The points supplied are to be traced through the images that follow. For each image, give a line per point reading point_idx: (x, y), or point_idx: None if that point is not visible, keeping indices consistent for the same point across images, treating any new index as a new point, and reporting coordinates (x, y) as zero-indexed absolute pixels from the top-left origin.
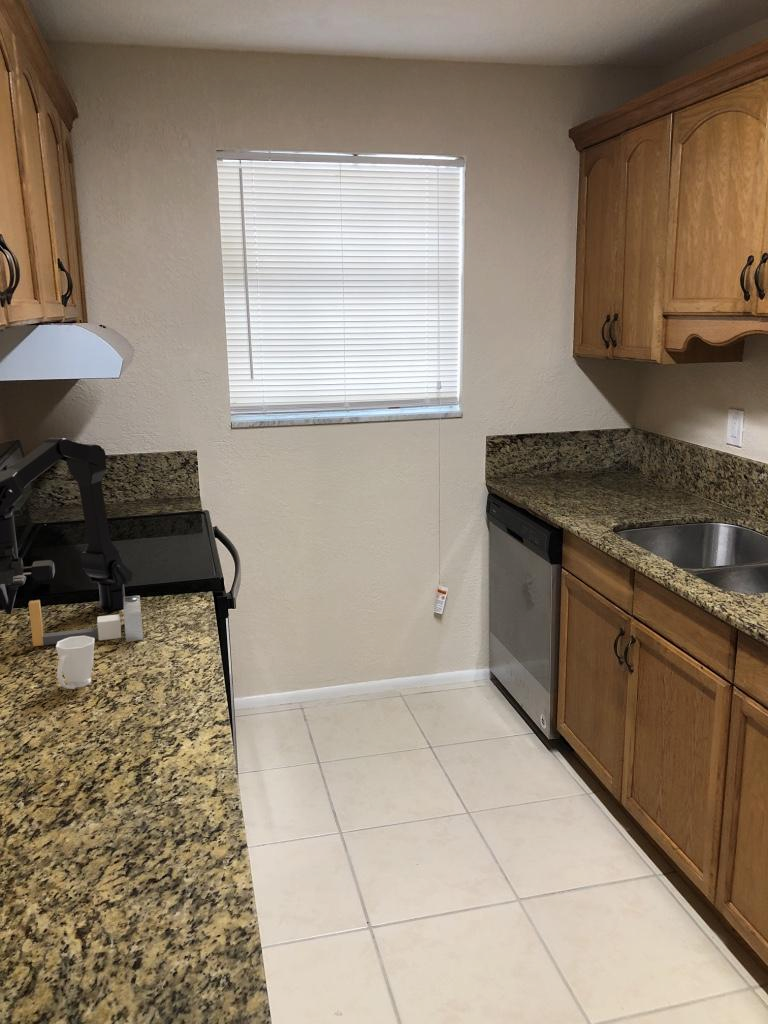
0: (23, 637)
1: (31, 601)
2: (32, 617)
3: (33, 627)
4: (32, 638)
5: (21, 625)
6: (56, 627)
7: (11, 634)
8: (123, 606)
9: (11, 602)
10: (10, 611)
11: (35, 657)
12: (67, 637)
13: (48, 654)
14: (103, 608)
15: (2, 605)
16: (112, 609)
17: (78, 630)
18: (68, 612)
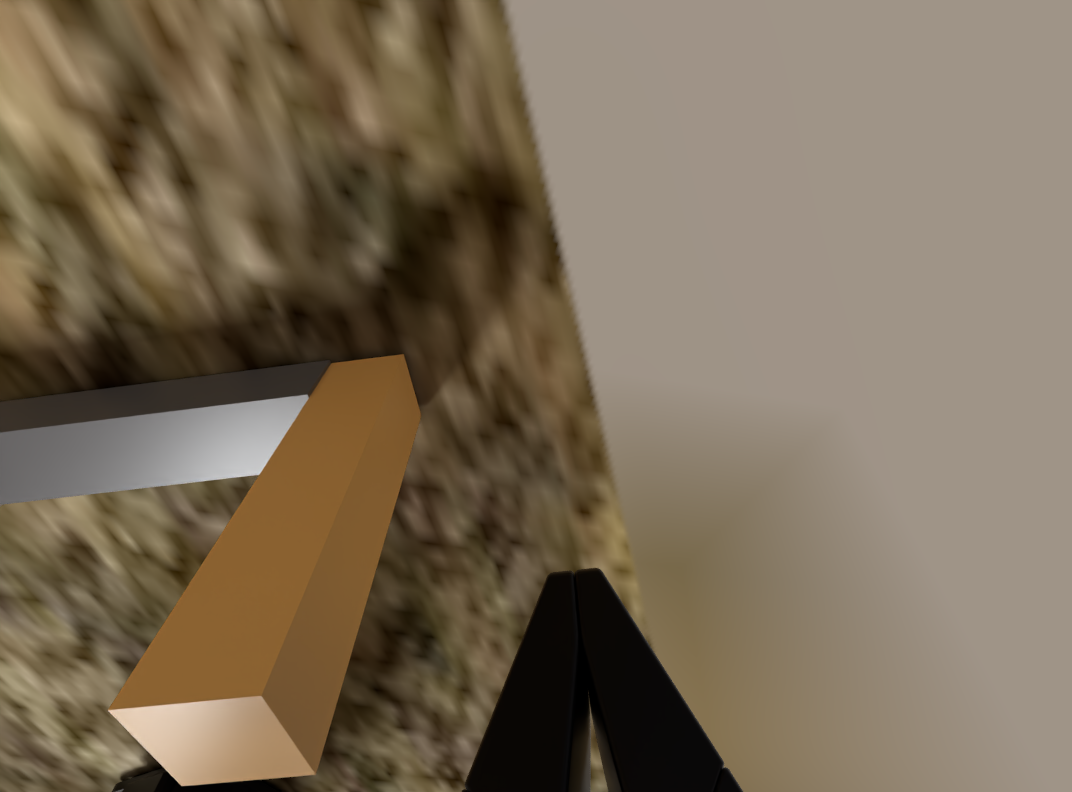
0: (535, 530)
1: (272, 757)
2: (308, 524)
3: (344, 446)
4: (389, 387)
5: None
6: (387, 630)
7: (620, 581)
8: (129, 783)
9: (518, 728)
10: (551, 596)
11: (287, 98)
12: (135, 403)
13: (199, 157)
14: None
15: (664, 676)
16: None
17: (74, 482)
18: (405, 767)
